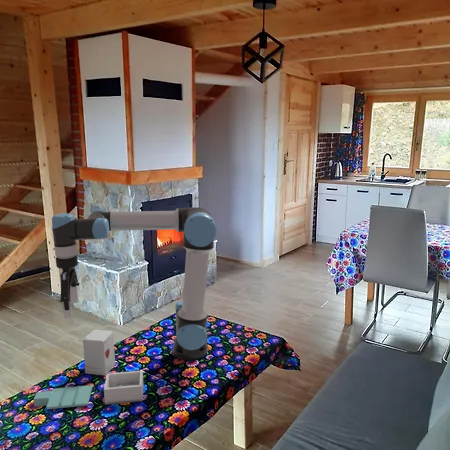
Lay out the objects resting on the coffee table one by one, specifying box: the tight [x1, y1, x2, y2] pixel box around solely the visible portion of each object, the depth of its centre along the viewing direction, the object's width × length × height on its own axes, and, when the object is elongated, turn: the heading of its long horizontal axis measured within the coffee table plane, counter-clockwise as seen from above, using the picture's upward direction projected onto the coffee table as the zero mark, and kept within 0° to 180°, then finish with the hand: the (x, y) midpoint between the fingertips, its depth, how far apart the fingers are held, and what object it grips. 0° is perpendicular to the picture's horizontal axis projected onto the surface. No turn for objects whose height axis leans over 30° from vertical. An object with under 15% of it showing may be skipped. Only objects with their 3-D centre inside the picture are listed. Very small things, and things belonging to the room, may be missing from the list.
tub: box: [103, 370, 144, 406], centre depth 154 cm, size 13×10×6 cm
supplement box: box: [82, 329, 116, 377], centre depth 170 cm, size 9×9×15 cm
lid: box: [33, 384, 93, 410], centre depth 151 cm, size 19×11×3 cm, turn 99°
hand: (71, 309), depth 160 cm, fingers open, 13 cm apart
